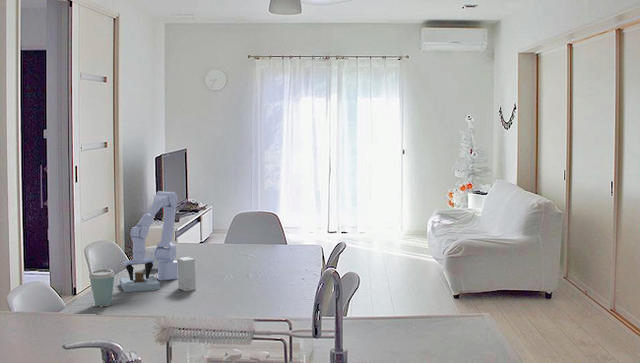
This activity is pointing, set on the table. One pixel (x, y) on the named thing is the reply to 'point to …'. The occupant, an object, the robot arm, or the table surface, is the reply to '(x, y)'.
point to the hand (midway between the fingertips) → (139, 279)
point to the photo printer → (151, 255)
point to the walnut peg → (139, 276)
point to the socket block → (139, 284)
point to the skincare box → (186, 274)
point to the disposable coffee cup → (102, 286)
